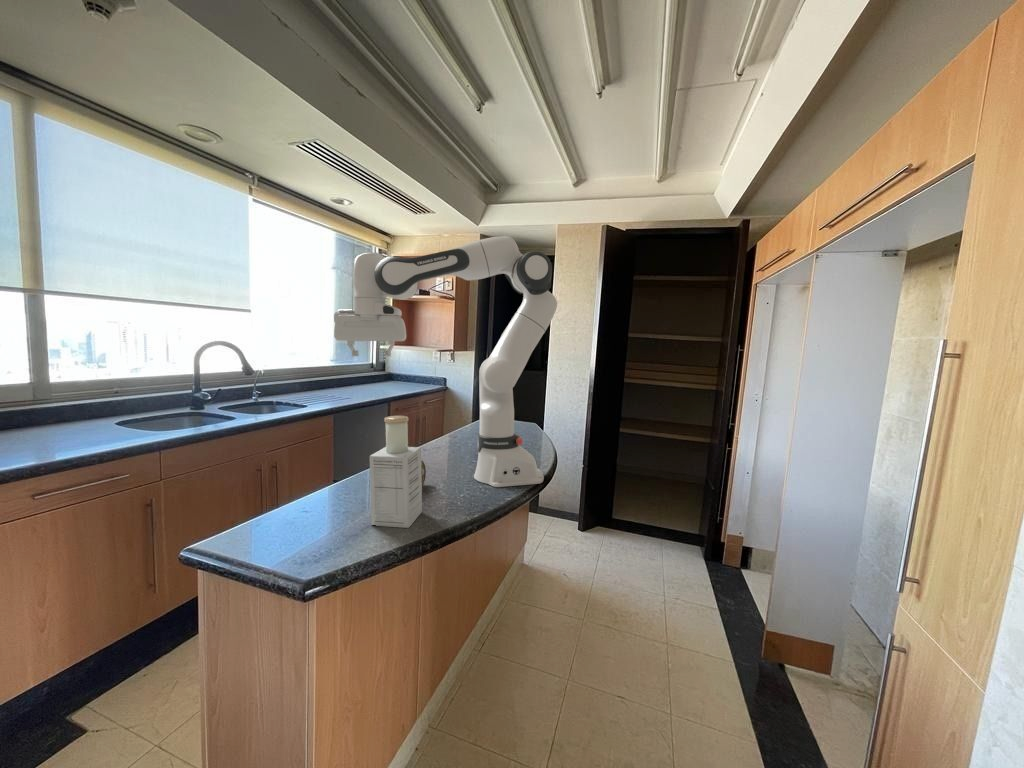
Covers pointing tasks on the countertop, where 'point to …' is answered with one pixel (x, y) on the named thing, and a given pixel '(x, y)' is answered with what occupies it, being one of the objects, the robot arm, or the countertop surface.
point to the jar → (396, 434)
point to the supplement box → (395, 487)
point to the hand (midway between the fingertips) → (371, 356)
